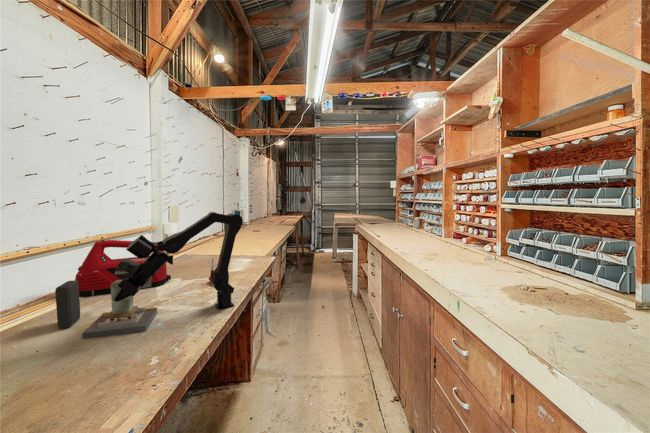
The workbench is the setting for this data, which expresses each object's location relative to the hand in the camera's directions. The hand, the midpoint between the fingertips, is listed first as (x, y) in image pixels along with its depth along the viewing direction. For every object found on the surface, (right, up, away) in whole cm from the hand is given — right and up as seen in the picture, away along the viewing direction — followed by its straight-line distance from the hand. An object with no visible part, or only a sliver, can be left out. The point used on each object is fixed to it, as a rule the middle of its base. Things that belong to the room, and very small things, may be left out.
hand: (118, 298), depth 102 cm
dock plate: (+1, -10, +1) cm, 10 cm away
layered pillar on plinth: (+1, -7, +1) cm, 7 cm away
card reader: (-19, -10, +2) cm, 21 cm away
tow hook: (+18, -7, +49) cm, 52 cm away
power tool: (-26, -7, +42) cm, 50 cm away
